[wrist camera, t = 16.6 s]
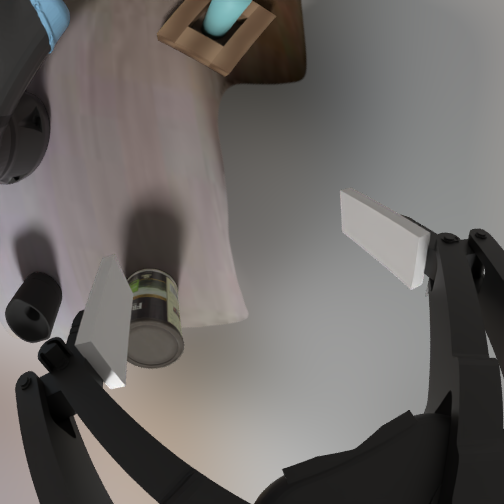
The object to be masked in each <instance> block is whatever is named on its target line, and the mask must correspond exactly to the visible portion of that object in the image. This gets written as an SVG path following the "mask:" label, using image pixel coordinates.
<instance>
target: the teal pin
mask: <svg viewBox="0 0 504 504" xmlns="http://www.w3.org/2000/svg"><path fill="white" fill-rule="evenodd" d="M251 1H252V0H212V1H211V3H210V6H209V8H208V11H207V13H206V16H205V18H204V21H203V24H202V26H201V31H202V33H203V35H205V36H206V37H208V38H210V39H220V38H222V37H224V36H225V35H226V33H227V32H228V31H229V29H230V28H231V27H232V25H233V24H234V23H235V22H236V20H237V19H238V18H239V16H240V15H241V14H242V13H243V11H244V10H245V9H246V8H247V7H248V5H249V4H250V3H251Z"/></svg>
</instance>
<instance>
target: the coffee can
mask: <svg viewBox="0 0 504 504" xmlns="http://www.w3.org/2000/svg"><path fill="white" fill-rule="evenodd" d="M127 282H128V284H129V286H130V288H131V290H132V292H133V302H132V310H131V319H130V329H129V340H128V352H127V361H128V362H129V363H131V364H133V365H135V366H138V367H142V368H148V369H155V368H156V369H157V368H162V367H166V366H169V365H171V364H173V363H174V362H176V361H177V360H178V359H179V358H180V357H181V355H182V353H183V350H184V342H183V338H182V332H181V323H180V313H179V302H178V288H177V285H176V283H175V281H174V280H173V279H172V278H171V277H170V276H169V275H168V274H166V273H164V272H163V271H160V270H157V269H143V270H140V271H137V272H135V273H134V274H132V275H131V276H130V277H129V278H128V279H127Z"/></svg>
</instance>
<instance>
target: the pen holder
mask: <svg viewBox="0 0 504 504" xmlns="http://www.w3.org/2000/svg"><path fill="white" fill-rule="evenodd" d="M61 301H62V293H61V290H60V288H59V286H58V284H57V283H56V282H55V281H54V280H53V279H52V278H51V277H50V276H48V275H46V274H43V273H33V274H31V275H29V276H28V277H27V279H26V280H25V281H24V282H23V284H22V285H21V286H20V288H19V289H18V291H17V292H16V294H15V295H14V297H13V298H12V299H11V301H10V302H9V304H8V306H7V308H6V311H5V317H6V320H7V323H8V325H9V327H10V328H11V330H12V331H13V332H14V333H15V334H16V335H17V336H18V337H19V338H21V339H22V340H24V341H26V342H30V343H35V342H40V341H43V340H46V339H49V338H50V335H51V332H52V329H53V326H54V322H55V319H56V316H57V313H58V310H59V307H60V304H61Z"/></svg>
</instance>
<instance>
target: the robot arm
mask: <svg viewBox="0 0 504 504" xmlns="http://www.w3.org/2000/svg"><path fill="white" fill-rule="evenodd" d="M69 22H70V13H69V10H68V8H67V6H66V5H65V3H64V2H63V1H62V0H0V184H13V183H16V182H19V181H20V180H22V179H24V178H26V177H27V176H29V175H30V174H31V173H32V172H34V170H35V169H36V168H37V167H38V166H39V164H40V163H41V161H42V159H43V157H44V155H45V152H46V150H47V146H48V142H49V134H50V125H49V118H48V114H47V111H46V109H45V107H44V105H43V103H42V102H41V101H40V100H39V99H38V98H37V97H36V96H35V95H33V94H31V93H28V92H25V90H26V89H27V87H28V85H29V83H30V82H31V80H32V78H33V77H34V75H35V74H36V72H37V70H38V69H39V67H40V66H41V64H42V63H43V61H44V60H45V58H46V57H47V55H48V54H50V53H51V52H52V51H53V49H54V46H55V44H56V43H57V41H58V40H59V38H60V37H61V35H62V34H63V33H64V31H65V30H66V29H67V27H68V25H69ZM340 197H341V217H342V232H343V233H344V234H345V235H347V236H348V237H349V238H351V239H352V240H353V241H354V242H355V243H357V244H358V245H359V246H360V247H362V248H363V249H364V250H365V251H366V252H368V253H369V254H370V255H372V256H373V257H374V258H375V259H376V260H377V261H378V262H380V263H381V264H382V265H383V266H384V267H385V268H387V269H388V270H389V271H390V272H391V273H392V274H394V275H395V276H396V277H397V278H398V279H399V280H401V281H402V282H403V283H404V284H405V285H406V286H407V287H409V289H411V290H412V289H414V288H416V287H418V286H420V285H421V284H422V282H423V277H424V274H426V275H427V276H428V277H429V281H428V286H427V290H426V295H425V297H427V296H428V293H429V307H430V338H431V339H430V340H431V341H430V376H429V392H428V401H427V406H426V409H425V412H424V414H419V415H415V416H413V415H412V413H411V412H410V410H408V411H407V412H405V413H403V414H402V415H400V416H398V417H397V418H395V419H393V420H392V421H390V422H388V423H386V424H384V425H383V426H381V427H380V428H379V429H378V430H377V431H376V432H375V433H374V434H373V435H372V436H370V437H369V438H368V439H367V440H366V441H364V442H363V443H362V444H361V445H359V446H358V447H357V448H355V449H353V450H349V451H344V452H340V453H335V454H329V455H324V456H318V457H315V458H312V459H309V460H307V461H304V462H301V463H299V464H296V465H293V466H290V467H287V468H284V469H282V470H283V473H284V475H285V476H282V477H280V478H279V479H277V480H276V481H274V482H273V483H272V484H270V485H269V486H268V487H267V488H266V489H265V490H264V491H263V492H262V493H261V494H260V496H259V497H258V498H257V500H256V501H255V503H254V504H504V429H503V401H502V387H501V377H500V368H501V371H502V374H503V377H504V250H503V249H502V248H501V247H500V245H499V244H498V243H497V242H496V241H495V239H494V238H493V237H492V236H491V235H490V234H489V233H488V232H486V231H484V230H483V229H482V230H481V229H472V230H470V233H469V238H468V239H464V240H460V238H459V237H457V236H456V235H453V234H451V233H440V234H436V233H434V232H433V231H431V230H429V229H428V228H426V227H424V226H423V225H421V224H419V223H418V222H416V221H414V220H413V219H411V218H409V217H407V216H403V215H400V214H398V213H396V212H395V211H393V210H391V209H389V208H387V207H386V206H384V205H382V204H380V203H378V202H377V201H375V200H373V199H371V198H369V197H367V196H366V195H364V194H362V193H360V192H358V191H356V190H354V189H352V188H348V189H344V190H340ZM484 268H485V275H484V274H483V272H484ZM132 302H133V292H132V290H131V288H130V286H129V284H128V282H127V280H126V278H125V276H124V274H123V271H122V269H121V267H120V265H119V263H118V260H117V258H116V256H115V254H113V255H110V256H107V257H104V258H102V261H101V264H100V266H99V269H98V272H97V275H96V277H95V280H94V283H93V286H92V289H91V292H90V295H89V298H88V301H87V304H86V307H85V310H82V311H79V313H78V314H77V315H76V317H75V318H74V320H73V323H72V326H71V327H72V328H71V330H70V335H69V336H68V340H67V343H66V344H65V343H64V341H63V340H62V339H61V338H59V337H54V338H51V339H49V340H48V341H46V342H45V343H44V344H43V345H42V346H41V348H40V350H39V352H38V360H39V361H40V362H41V363H42V364H43V365H44V367H45V368H46V369H47V370H48V371H49V373H48V374H45V375H44V376H42V377H40V378H39V377H38V376H37V375H36V374H35V373H34V372H32V371H28V372H26V373H24V374H23V375H21V376H20V378H19V379H18V381H17V383H16V387H15V392H16V401H17V409H18V417H19V424H20V430H21V435H22V440H23V445H24V449H25V454H26V458H27V462H28V466H29V469H30V474H31V477H32V481H33V484H34V487H35V490H36V493H37V496H38V499H39V502H40V504H114V503H113V502H112V500H111V499H110V496H109V495H108V493H107V491H106V489H105V487H104V485H103V484H102V481H101V479H100V478H99V475H98V473H97V472H96V469H95V467H94V465H93V463H92V461H91V458H90V456H89V454H88V452H87V449H86V447H85V445H84V442H83V440H82V437H81V435H80V432H79V430H78V427H77V425H76V421H75V419H74V416H73V415H75V414H78V416H79V417H80V418H81V420H82V421H83V422H84V424H85V425H86V426H87V428H88V429H89V430H90V431H91V433H92V434H93V435H94V437H95V438H96V439H97V440H98V441H99V443H100V444H101V445H102V446H103V447H104V448H105V449H106V451H107V452H108V453H109V454H110V455H111V456H112V458H113V459H114V460H115V461H116V462H117V463H118V464H119V465H120V466H121V467H122V468H123V469H124V470H125V471H126V472H127V474H129V476H130V477H131V478H133V479H134V480H135V481H136V482H137V483H138V484H139V485H140V486H141V487H142V488H143V489H144V490H145V491H146V492H147V493H148V494H149V495H150V496H152V497H153V498H154V499H155V500H156V501H157V502H158V503H159V504H250V503H248V502H247V501H245V500H243V499H241V498H239V497H238V496H236V495H234V494H233V493H231V492H229V491H228V490H226V489H224V488H223V487H221V486H219V485H218V484H216V483H215V482H213V481H212V480H210V479H209V478H207V477H206V476H204V475H203V474H201V473H200V472H198V471H197V470H195V469H194V468H192V467H191V466H190V465H188V464H187V463H186V462H184V461H183V460H181V459H180V458H179V457H177V456H176V455H175V454H174V453H172V452H171V451H170V450H169V449H167V448H166V447H165V446H163V445H162V444H161V443H160V442H159V441H158V440H156V439H155V438H154V437H153V436H151V434H149V433H148V432H147V431H146V430H145V429H144V428H143V427H141V426H140V425H139V424H138V423H137V422H136V421H135V420H134V419H133V418H132V417H131V416H130V415H129V414H127V413H126V412H125V411H124V410H123V409H122V408H121V407H120V406H119V405H118V404H117V403H116V402H115V401H114V400H113V399H112V398H111V397H110V396H109V394H108V393H107V392H106V391H105V390H104V389H103V381H104V382H105V384H106V385H107V386H108V387H109V388H110V389H114V388H119V387H124V386H126V367H127V352H128V340H129V329H130V319H131V310H132ZM485 331H486V333H487V335H488V337H489V340H490V342H491V345H492V347H493V350H494V352H495V355H496V358H497V359H496V358H489V354H488V346H487V340H486V333H485ZM499 366H500V368H499Z"/></svg>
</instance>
